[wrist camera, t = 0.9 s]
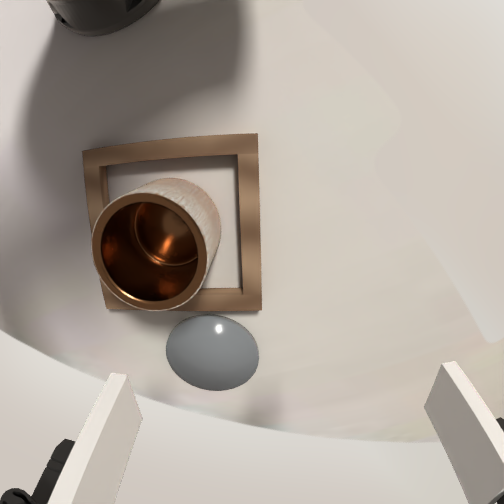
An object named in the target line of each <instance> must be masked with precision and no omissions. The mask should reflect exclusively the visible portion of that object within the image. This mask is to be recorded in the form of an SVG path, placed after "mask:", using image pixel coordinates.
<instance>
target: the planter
mask: <svg viewBox="0 0 504 504" xmlns="http://www.w3.org/2000/svg"><path fill="white" fill-rule="evenodd" d="M220 238H221V222H220V217H219V213H218V210H217V208H216V206H215V204H214V202H213V201H212V199H211V198H210V197H209V196H208V194H207V193H206V192H205V191H204V190H202V189H201V188H200V187H198V186H197V185H195V184H193V183H191V182H189V181H186V180H182V179H176V178H164V179H159V180H156V181H153V182H150V183H148V184H146V185H144V186H142V187H139V188H137V189H135V190H133V191H131V192H129V193H126V194H124V195H122V196H120V197H118V198H116V199H115V200H113V201H112V202H111V203H109V204H108V205H107V206H106V207H105V208H104V209H103V211H102V212H101V213H100V215H99V217H98V218H97V220H96V223H95V225H94V228H93V232H92V238H91V251H92V258H93V262H94V265H95V268H96V270H97V272H98V274H99V276H100V278H101V280H102V281H103V283H104V284H105V285H106V287H107V288H108V289H109V290H110V291H111V292H112V293H113V294H114V295H115V296H116V297H118V298H119V299H120V300H122V301H123V302H125V303H127V304H129V305H131V306H133V307H136V308H139V309H143V310H148V311H165V310H170V309H174V308H176V307H179V306H181V305H183V304H184V303H186V302H187V301H189V300H190V299H191V298H192V297H193V296H194V295H195V294H196V293H197V292H198V290H199V289H200V287H201V286H202V284H203V282H204V280H205V278H206V275H207V272H208V270H209V267H210V265H211V262H212V260H213V258H214V255H215V253H216V251H217V248H218V245H219V242H220Z"/></svg>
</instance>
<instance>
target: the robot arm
mask: <svg viewBox="0 0 504 504" xmlns="http://www.w3.org/2000/svg"><path fill="white" fill-rule="evenodd" d="M46 1H47V3H48V4H49V6H50V8H51V9H52V11H53V13H54V14H55V16H56V18H57V19H58V21H59V22H60V23H61V24H62V25H63V26H65V27H66V28H68V29H70V30H72V31H74V32H76V33H78V34H81V35H87V36H97V35H104V34H108V33H112V32H114V31H117V30H120V29H122V28H124V27H126V26H128V25H130V24H131V23H133V22H135V21H136V20H138V19H139V18H141V17H142V16H143V15H144V14H146V13H147V12H148V11H149V10H150V9H151V8H152V7H153V6H154V5H155V4H156V3H157V2H158V1H159V0H46ZM424 408H425V410H426V412H427V414H428V416H429V418H430V420H431V422H432V424H433V426H434V428H435V430H436V432H437V434H438V436H439V438H440V440H441V442H442V445H443V447H444V449H445V451H446V453H447V455H448V457H449V459H450V462H451V463H452V466H453V468H454V470H455V473H456V475H457V477H458V479H459V482H460V484H461V486H462V488H463V491H464V493H465V495H466V498H467V500H468V503H469V504H495V503H496V502H497V504H504V419H502V418H501V417H500V418H498V419H495V418H494V416H493V415H492V413H491V412H490V410H489V409H488V407H487V406H486V404H485V403H484V401H483V400H482V398H481V397H480V395H479V394H478V392H477V391H476V389H475V388H474V387H473V385H472V384H471V382H470V381H469V379H468V378H467V377H466V375H465V374H464V372H463V371H462V370H461V368H460V367H459V366H458V364H457V363H456V361H452V362H447V363H442V364H441V367H440V369H439V372H438V375H437V377H436V380H435V382H434V385H433V387H432V389H431V392H430V394H429V396H428V399H427V401H426V403H425V406H424ZM141 421H142V415H141V413H140V410H139V407H138V404H137V402H136V399H135V396H134V393H133V390H132V387H131V384H130V381H129V377H128V375H126V374H117V373H111V374H110V376H109V378H108V380H107V381H106V383H105V386H104V387H103V389H102V391H101V393H100V395H99V397H98V399H97V401H96V402H95V404H94V406H93V408H92V410H91V412H90V414H89V416H88V418H87V420H86V422H85V424H84V426H83V428H82V430H81V432H80V434H79V436H78V438H77V440H76V442H75V441H71V440H68V439H64V440H63V441H62V442H61V443H60V444H59V445H58V446H57V447H56V448H55V450H54V452H53V454H52V456H51V459H50V460H49V462H48V464H47V468H45V470H44V472H43V474H42V476H41V478H40V480H39V482H38V484H37V487H36V488H35V490H34V493H33V495H32V496H30V495H29V494H27V493H26V492H25V491H24V490H21V489H19V488H14V489H13V488H12V489H10V490H7V491H6V492H5V493H4V494H3V495H2V497H1V500H0V504H114V503H115V500H116V496H117V493H118V490H119V487H120V484H121V481H122V478H123V475H124V471H125V468H126V465H127V462H128V459H129V456H130V453H131V450H132V447H133V444H134V442H135V439H136V435H137V433H138V430H139V427H140V424H141Z"/></svg>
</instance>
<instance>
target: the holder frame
mask: <svg viewBox="0 0 504 504" xmlns="http://www.w3.org/2000/svg"><path fill="white" fill-rule="evenodd" d="M82 153H83V167H84V178H85V188H86V197H87V205H88V213H89V220H90V227H91V233H92V232H93V228H94V225H95V223H96V220H97V218H98V217H99V215H100V213H101V212H102V211H103V209H104V208H105V207H106V206H107V205H108V204H109V194H108V184H107V173H106V165H113V164H121V163H130V162H139V161H148V160H158V159H169V158H181V157H195V156H211V155H231V154H238V178H239V205H240V230H241V254H242V277H243V288H200V289H199V290H198V292H197V293H196V294H195V295H194V296H193V297H192V298H191V299H190V300H189V301H187V302H186V303H184V304H183V305H181V306H179V307H176V308H174V309H170V310H165V311H255V310H262V290H261V243H260V201H259V163H258V133H256V134H229V135H211V136H197V137H184V138H173V139H163V140H154V141H145V142H137V143H130V144H122V145H115V146H109V147H102V148H96V149H90V150H85V151H82ZM99 277H100V276H99ZM100 282H101V287H102V291H103V296H104V300H105V304H106V308H107V309H126V310H143V309H139V308H136V307H133V306H131V305H129V304H127V303H125V302H123V301H122V300H120V299H119V298H118V297H116V296H115V295H114V294H113V293H112V292H111V291H110V290H109V289H108V288H107V287H106V285H105V284H104V283H103V281H102V280H101V278H100Z"/></svg>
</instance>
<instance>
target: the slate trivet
mask: <svg viewBox="0 0 504 504" xmlns="http://www.w3.org/2000/svg"><path fill="white" fill-rule="evenodd" d="M166 355H167V359H168V362H169V364H170V366H171V368H172V369H173V370H174V372H175V373H176V374H177V375H178V376H179V377H180V378H182V379H183V380H184V381H186V382H187V383H189V384H191V385H193V386H196V387H198V388H202V389H206V390H213V391H222V390H229V389H233V388H236V387H238V386H240V385H242V384H244V383H245V382H247V381H248V380H249V379H250V378H251V377H252V376H253V374H254V373H255V371H256V369H257V366H258V360H259V352H258V347H257V344H256V341H255V339H254V338H253V336H252V335H251V333H250V332H249V331H248V330H247V329H246V328H245V327H243V326H242V325H241V324H239V323H237V322H236V321H234V320H231V319H229V318H226V317H223V316H218V315H208V314H207V315H197V316H193V317H190V318H188V319H185V320H184V321H182V322H180V323H179V324H178V325H177V326H176V327H175V328H174V329H173V330H172V332H171V334H170V336H169V338H168V341H167V345H166Z"/></svg>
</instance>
